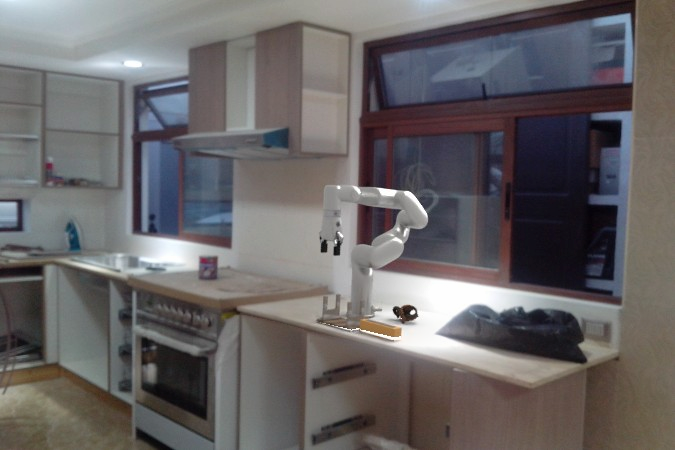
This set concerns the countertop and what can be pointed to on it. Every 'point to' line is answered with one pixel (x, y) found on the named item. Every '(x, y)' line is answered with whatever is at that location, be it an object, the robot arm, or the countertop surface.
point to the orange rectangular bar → (380, 328)
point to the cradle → (333, 314)
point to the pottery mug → (405, 312)
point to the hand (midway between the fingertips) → (330, 254)
